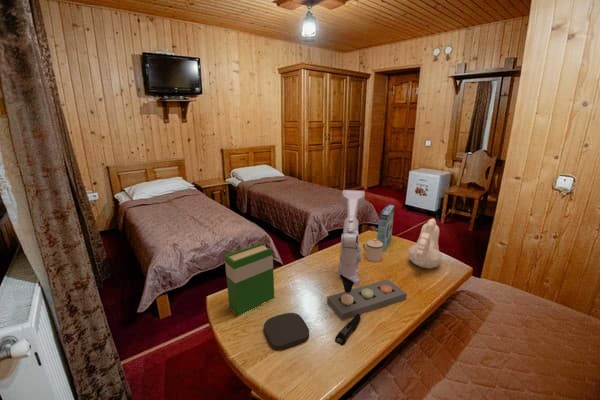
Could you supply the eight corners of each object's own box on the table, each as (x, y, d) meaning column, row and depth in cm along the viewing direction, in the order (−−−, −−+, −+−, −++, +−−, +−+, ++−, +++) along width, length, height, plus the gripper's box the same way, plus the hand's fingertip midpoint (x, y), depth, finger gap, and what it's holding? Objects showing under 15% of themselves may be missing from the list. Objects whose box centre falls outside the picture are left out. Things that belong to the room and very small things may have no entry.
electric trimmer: (363, 322, 110) (363, 315, 109) (343, 346, 98) (343, 339, 97) (354, 318, 112) (354, 311, 111) (333, 341, 100) (334, 334, 99)
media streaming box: (273, 354, 95) (273, 347, 94) (261, 326, 108) (261, 319, 107) (312, 340, 101) (313, 333, 100) (296, 315, 113) (296, 309, 113)
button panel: (327, 302, 120) (327, 296, 120) (387, 284, 133) (387, 279, 132) (342, 320, 110) (342, 313, 109) (406, 299, 122) (406, 293, 121)
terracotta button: (377, 290, 126) (377, 286, 125) (386, 288, 128) (386, 283, 127) (385, 297, 122) (385, 292, 121) (394, 294, 124) (394, 289, 123)
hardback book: (265, 290, 129) (262, 242, 122) (274, 298, 124) (272, 248, 117) (229, 307, 118) (224, 255, 111) (238, 316, 113) (233, 262, 106)
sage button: (358, 294, 122) (359, 290, 121) (368, 292, 124) (368, 287, 123) (365, 301, 118) (366, 296, 117) (375, 298, 119) (376, 293, 119)
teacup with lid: (385, 258, 157) (387, 239, 154) (376, 264, 151) (377, 244, 148) (367, 251, 166) (368, 232, 162) (357, 256, 160) (358, 237, 156)
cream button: (338, 300, 118) (338, 296, 117) (348, 297, 120) (349, 293, 119) (345, 308, 114) (345, 302, 113) (355, 304, 116) (355, 299, 115)
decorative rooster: (417, 253, 162) (421, 212, 155) (445, 263, 151) (452, 219, 144) (394, 269, 146) (398, 224, 139) (424, 281, 135) (431, 233, 128)
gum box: (383, 238, 183) (386, 204, 177) (391, 239, 181) (395, 205, 174) (376, 250, 167) (378, 213, 160) (384, 252, 164) (387, 214, 158)
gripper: (367, 269, 106) (365, 300, 110) (349, 252, 119) (348, 280, 123) (350, 272, 104) (349, 303, 108) (334, 254, 117) (333, 283, 121)
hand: (347, 291), depth 115 cm, fingers closed
